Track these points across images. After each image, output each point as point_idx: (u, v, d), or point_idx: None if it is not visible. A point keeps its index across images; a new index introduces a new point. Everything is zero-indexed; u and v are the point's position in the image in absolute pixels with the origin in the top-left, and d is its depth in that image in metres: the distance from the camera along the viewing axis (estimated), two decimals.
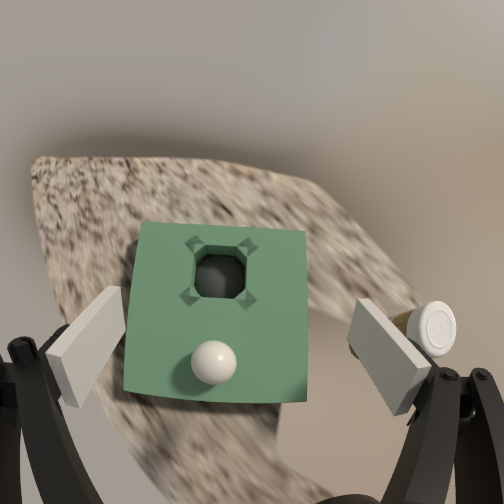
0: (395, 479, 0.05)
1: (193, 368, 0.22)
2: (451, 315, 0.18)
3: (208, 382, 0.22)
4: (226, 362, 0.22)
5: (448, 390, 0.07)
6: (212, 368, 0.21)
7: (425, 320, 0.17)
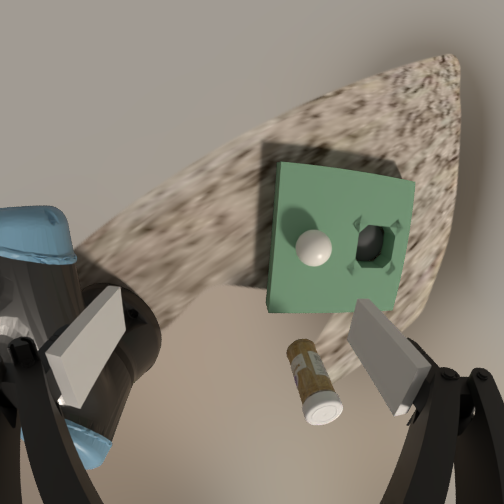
0: (395, 479, 0.05)
1: (312, 234, 0.29)
2: (329, 421, 0.27)
3: (300, 246, 0.29)
4: (317, 262, 0.29)
5: (448, 390, 0.07)
6: (315, 252, 0.28)
7: (334, 404, 0.26)
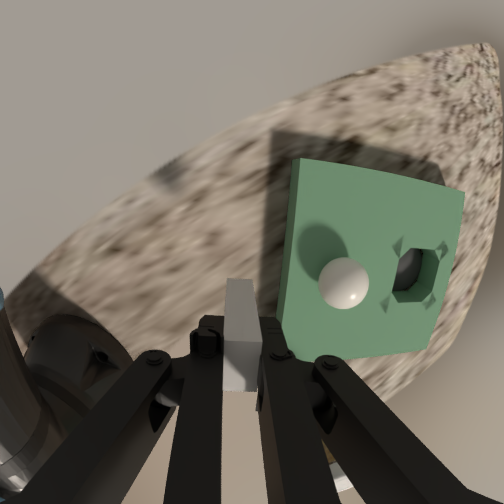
0: (268, 477, 0.06)
1: (344, 266, 0.19)
2: (347, 488, 0.18)
3: (326, 282, 0.20)
4: (350, 305, 0.20)
5: (284, 371, 0.09)
6: (348, 293, 0.19)
7: None
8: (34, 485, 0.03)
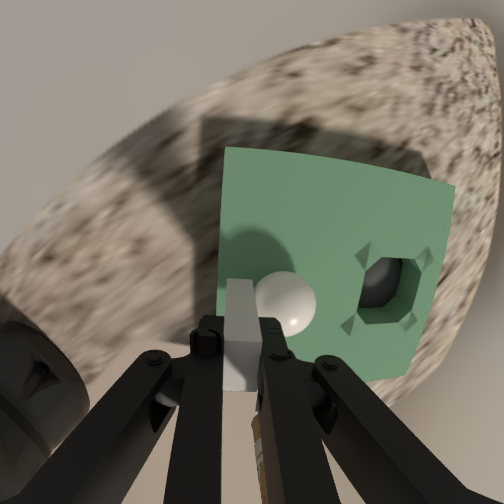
0: (268, 477, 0.06)
1: (278, 284, 0.15)
2: None
3: None
4: (287, 334, 0.15)
5: (284, 371, 0.09)
6: (281, 319, 0.15)
7: None
8: (34, 486, 0.03)
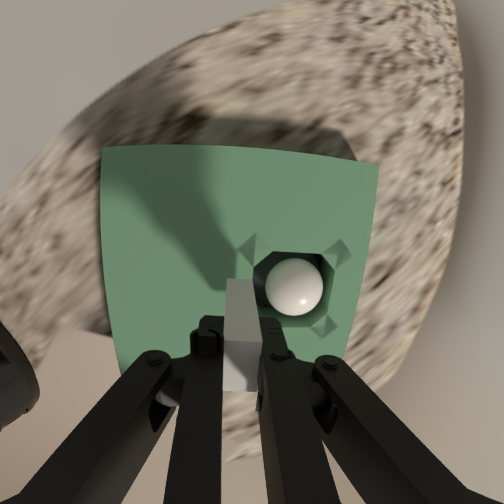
0: (269, 477, 0.06)
1: (281, 261, 0.19)
2: None
3: None
4: (271, 304, 0.19)
5: (284, 371, 0.09)
6: (266, 286, 0.19)
7: None
8: (33, 485, 0.03)
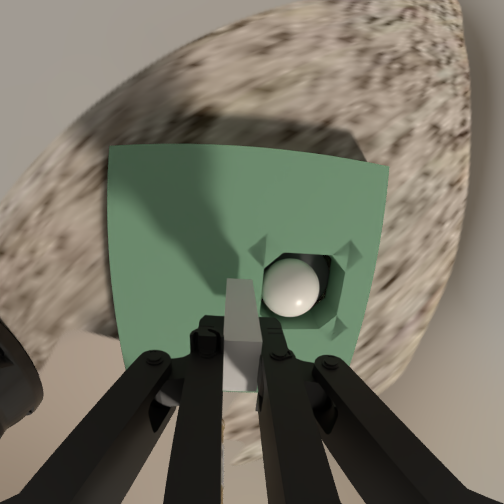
0: (268, 477, 0.06)
1: (280, 260, 0.19)
2: None
3: None
4: None
5: (284, 371, 0.09)
6: None
7: None
8: (34, 485, 0.03)
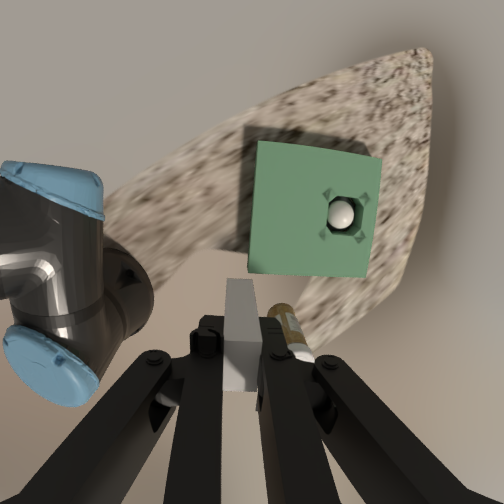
0: (268, 477, 0.06)
1: None
2: None
3: None
4: (328, 221, 0.39)
5: (284, 371, 0.09)
6: None
7: (305, 355, 0.31)
8: (33, 486, 0.03)
